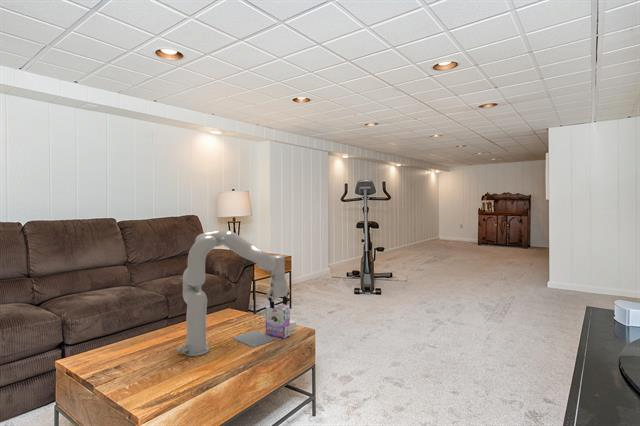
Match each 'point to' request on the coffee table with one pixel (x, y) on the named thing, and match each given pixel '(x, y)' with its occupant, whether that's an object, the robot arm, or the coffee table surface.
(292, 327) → the cream block
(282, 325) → the candy box
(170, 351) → the coffee table surface
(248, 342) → the grey mat
